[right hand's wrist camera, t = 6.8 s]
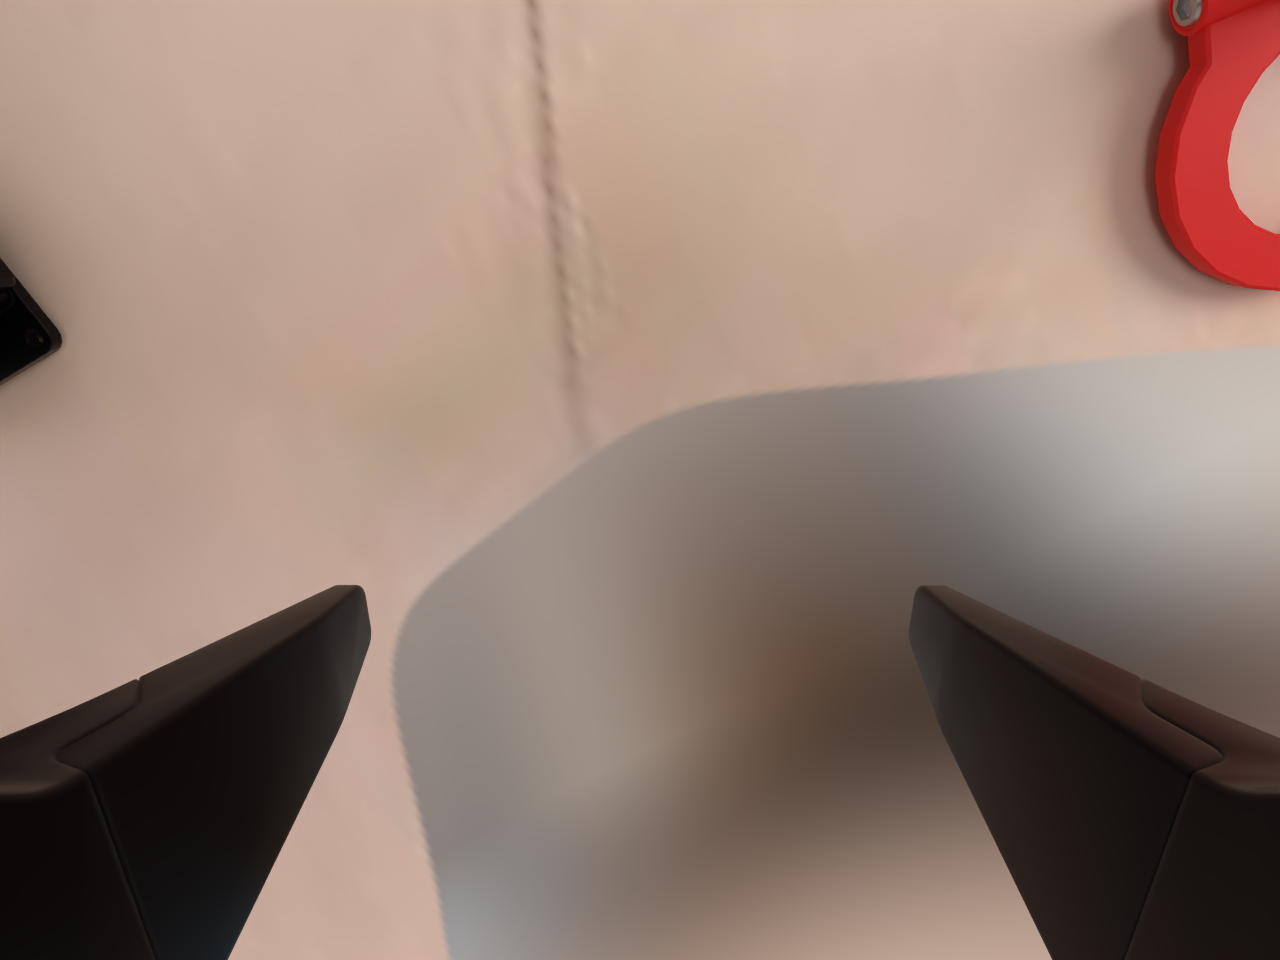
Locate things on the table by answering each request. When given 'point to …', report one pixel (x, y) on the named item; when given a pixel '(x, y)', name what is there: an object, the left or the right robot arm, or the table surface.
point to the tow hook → (1216, 140)
